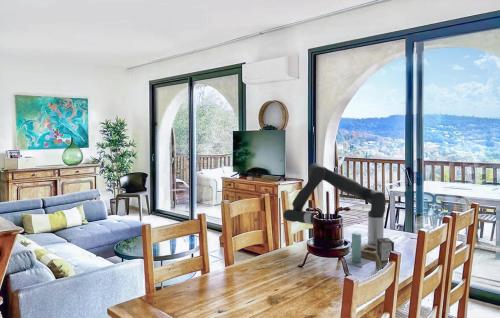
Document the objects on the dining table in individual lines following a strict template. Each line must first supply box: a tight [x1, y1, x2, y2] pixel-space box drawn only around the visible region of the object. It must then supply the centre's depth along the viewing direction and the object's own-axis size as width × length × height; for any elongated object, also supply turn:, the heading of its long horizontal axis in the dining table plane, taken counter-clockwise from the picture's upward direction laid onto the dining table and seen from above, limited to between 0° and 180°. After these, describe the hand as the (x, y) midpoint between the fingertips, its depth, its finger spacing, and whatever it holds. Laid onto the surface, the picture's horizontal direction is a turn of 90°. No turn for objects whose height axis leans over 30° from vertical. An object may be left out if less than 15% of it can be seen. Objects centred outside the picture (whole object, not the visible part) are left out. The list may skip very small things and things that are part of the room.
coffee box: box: [375, 237, 395, 272], centre depth 198 cm, size 9×6×16 cm
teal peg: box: [351, 232, 362, 263], centre depth 212 cm, size 5×5×15 cm
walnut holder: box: [350, 244, 376, 263], centre depth 223 cm, size 16×16×4 cm
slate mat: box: [346, 257, 372, 268], centre depth 212 cm, size 11×11×1 cm
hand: (337, 221), depth 222 cm, fingers open, 8 cm apart
